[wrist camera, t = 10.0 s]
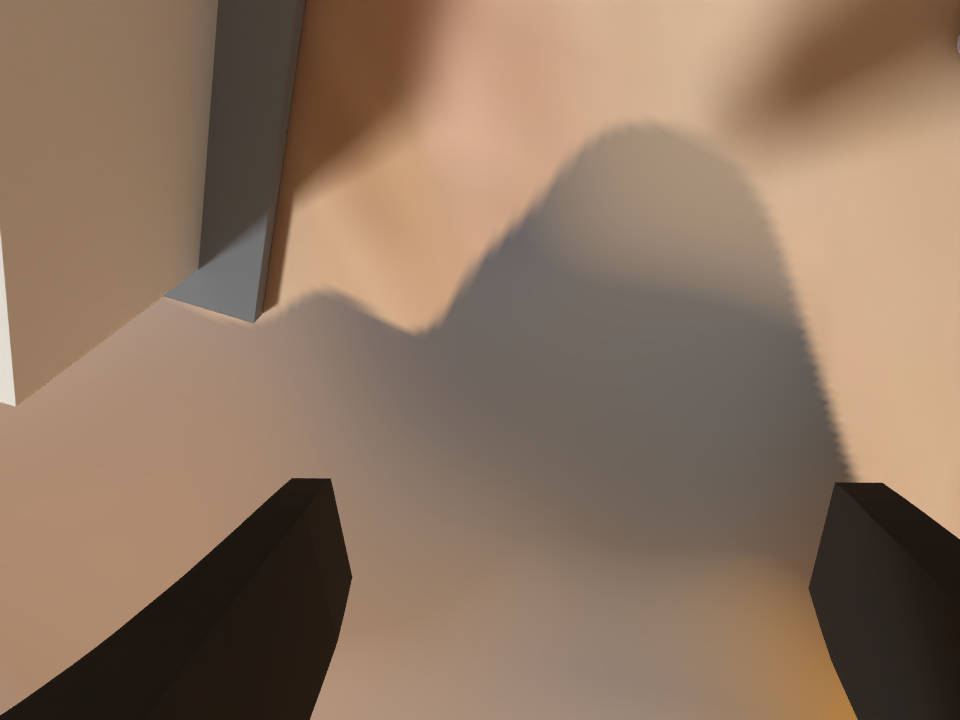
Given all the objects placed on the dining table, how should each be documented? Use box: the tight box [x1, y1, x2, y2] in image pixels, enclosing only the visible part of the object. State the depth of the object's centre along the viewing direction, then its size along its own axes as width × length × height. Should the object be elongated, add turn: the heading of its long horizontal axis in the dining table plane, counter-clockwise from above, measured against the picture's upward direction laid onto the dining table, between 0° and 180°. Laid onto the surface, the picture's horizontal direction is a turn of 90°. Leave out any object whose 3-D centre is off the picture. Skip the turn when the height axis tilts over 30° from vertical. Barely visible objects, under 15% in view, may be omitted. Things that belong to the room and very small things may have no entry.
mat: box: [164, 0, 306, 323], centre depth 16 cm, size 6×11×1 cm, turn 163°
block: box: [0, 0, 218, 406], centre depth 12 cm, size 2×9×7 cm, turn 164°
